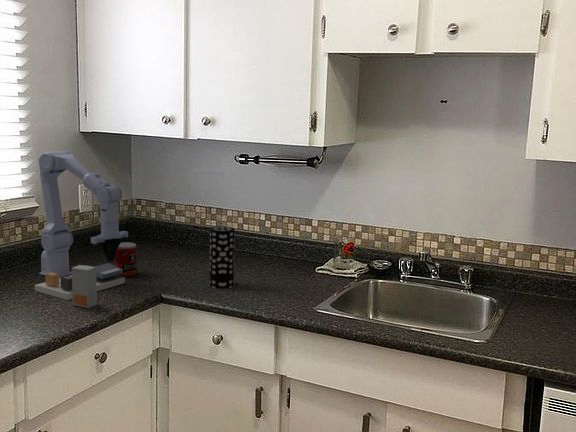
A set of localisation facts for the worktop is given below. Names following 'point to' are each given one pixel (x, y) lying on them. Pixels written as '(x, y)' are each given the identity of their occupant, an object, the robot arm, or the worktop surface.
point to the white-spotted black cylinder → (222, 257)
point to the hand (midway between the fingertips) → (110, 261)
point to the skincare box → (84, 286)
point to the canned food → (126, 259)
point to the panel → (67, 294)
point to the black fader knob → (66, 283)
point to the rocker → (107, 270)
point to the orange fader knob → (52, 279)
